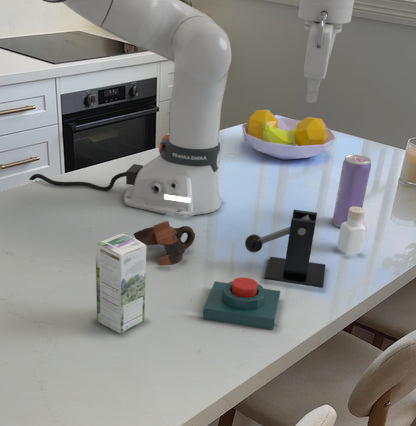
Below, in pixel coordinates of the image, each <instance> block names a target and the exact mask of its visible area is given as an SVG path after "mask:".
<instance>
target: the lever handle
mask: <svg viewBox="0 0 416 426" xmlns="http://www.w3.org/2000/svg"><path fill="white" fill-rule="evenodd" d="M298 219H305V220H310V218H309V215H306V216H303V217H301V218H298ZM289 232H290V226H288V227H284V228H282V229H279V230H277V231H274V232H272V233H268V234H266V235H264V236H259V235H258V234H250V235H249V236H247V237H246V239H245V240H244V247H245V249H246V250H247V251H248V252H250V253H254V254H255V253H258V252H260V251H261V250H262V248H263V245H264V244H266V243H269V242H271V241H274V240H277V239H280V238H282V237H285V236H289Z"/></svg>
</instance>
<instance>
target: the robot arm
mask: <svg viewBox="0 0 416 426" xmlns="http://www.w3.org/2000/svg"><path fill="white" fill-rule="evenodd" d="M42 1H43V2H45V3H51V4H59V3H62V4H64V5H65V6H66V7H67V8H69V9H70V10H72V11H73V12H74V13H76V14H77V15H79V16H80V17H82V18H83V19H85V20H86V21H88V22H90V23H91V24H93V25H95V26H96V27H99V28H100V29H102V30H104V31H106V32H108V33H109V34H111V35H114V36H115V37H118V38H119V39H122V40H123V41H125V42H127V43H130V44H131V45H133V46H135V47H137V48H140V49H143V50H146V51H149V52H150V53H154V54H156V55H158V56H161V57H163V58H165V59H167V60H169V61H171V62H172V63H174V70H173V71H174V72H173V81H172V90H171V97H170V98H171V99H170V101H169V122H168V123H169V124H168V134H164V136H163V137H162V138H161V141H160V143H159V146H158V153H159V155H158V156H157V157H154V158H153V159H152V160H150V161H148V162H147V163H145V164H144V165H142V164H136V163H133V164H132V165H131V166H130V167H129V168H128V169H126V171H123V172H119V173H117V174H115V175H113V177H112V178H111V179H110V182H109V184H108V185H107V186H100V185H97V184H94V183H91V182H88V181H57V180H53V179H51V178H49V177H47V176H45V175H44V174H42V173H34V174H32V175H31V176H30V178H28V179H29V181H34V180H36V179H41V180H43V181H44V182H46V183H48V184H50V185H53V186H57V187H87V188H91V189H93V190H97V191H102V192H107V191H110V190H112V189H113V188H114V186H115V183H116V181H117V180H119V179H120V178H125V183H126V185H130V187H128V189H127V190H126V191H125V192H124V195H123V203H124V204H125V206H127V207H131V208H136V209H141V210H145V211H149V212H154V213H158V214H161V215H166V214H173V215H178V216H188V217H193V216H197V215H205V214H211V213H213V212H215V211H218V210H219V209H220V208H221V206H222V201H221V196H220V191H219V190H220V189H219V177H218V176H219V175H218V171H219V167H220V163H221V142H220V130H221V129H220V128H221V117H222V105H223V100H224V95H225V91H226V86H227V81H228V76H229V71H230V70H229V69H230V66H231V63H232V45H231V41H230V38H229V36H228V34H227V32H226V31H225V30H224V29H223V28H222V27H221V26H220V25H218V23H217V22H215V21H214V20H213V19H212V18H211V17H210V16H209V15H207V14H206V13H204V12H202V11H200V10H198V9H196V8H195V7H193V6H191V5H189V4H187V3H185V2H184V1H182V0H42ZM298 5H299V6H298V12H297V13H298V14H297V17H298V18H299V19H301V20H304V25H303V29H304V30H305V31H308V38H307V45H306V51H305V57H304V65H303V77H304V78H306V79H307V83H306V85H307V86H306V87H307V88H306V89H307V90H306V98H305V102H307V103H309V104H316V103H317V101H318V94H319V90H320V88H321V82H322V80H324V79H325V78H326V75H327V72H328V68H329V62H330V58H331V54H332V52H333V49H334V44H335V41H336V38H337V34H341V33H342V31H343V24H344V25H345V24H350V23H351V22H352V17H353V16H352V15H353V11H354V5H355V0H299V4H298Z"/></svg>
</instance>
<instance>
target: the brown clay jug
mask: <svg viewBox="0 0 416 426" xmlns="http://www.w3.org/2000/svg"><path fill="white" fill-rule="evenodd" d="M184 234H186V235H187V237H186V240H185V241H182V237H183V235H184ZM133 237H134V238H135V239H137V240H138V241H140V242H142V243H143V244H145V245H146V247H147V246H156V245H160V246H163V248H164V250H165V252H166V253H165V254H164V255H162V256H159V257H158V258H157V261H158V263H159V265H160V266H174V265H176V264H179V263H180V262H181V261H182V260H183V256H184V255H183V254H184V253H185V251H186V250H187V249H189V248H190V247H191V246H192V245H193V244H194V241H195V238H196V233H195V231H194V229H193V228H192V227H191V226H188V225H182V226H180V227H173V226H170V223H169V221H168V220H165V221H162V222H159V223H157V224H154V225H153V226H150V227H146V228H142V229H141V230H139V231H136V232H134V233H133Z"/></svg>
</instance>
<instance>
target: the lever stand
mask: <svg viewBox="0 0 416 426" xmlns="http://www.w3.org/2000/svg"><path fill="white" fill-rule="evenodd" d="M306 215H309V218H310V220H305V219H298V218H301V217H303V216H306ZM317 217H318V212H316V211H308V210H302V209H301V210H300V209H293V211H292V217H291V220H290V225H289V227H290V232H289V234H288V238H287V239H288V240H287V247H286V252H285V253H286V254H285V258H283V257H276V256H269V260H268V265H267V267H266V271H265V275H264V280H268V281H276V282H282V283H288V284H296V285H301V286H302V285H303V286H309V287H314V288H321V289H323V288H324V282H325V272H326V264H325V263H318V262H313V261H312V262H311V261H310V259H311V253H312V248H313V242H314V236H315V230H316V223H317Z"/></svg>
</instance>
